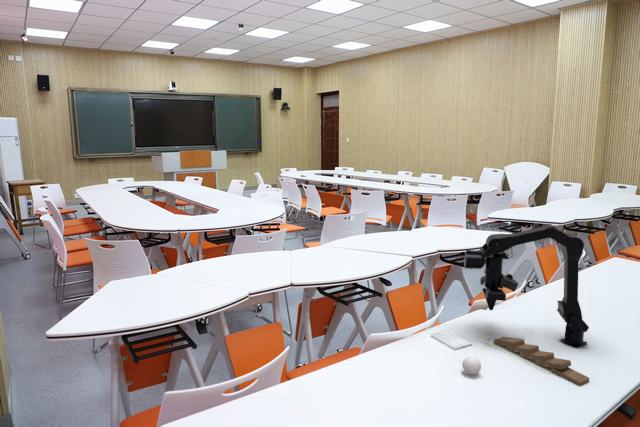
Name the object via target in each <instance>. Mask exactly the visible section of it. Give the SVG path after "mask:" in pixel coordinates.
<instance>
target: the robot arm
mask: <svg viewBox="0 0 640 427" xmlns="http://www.w3.org/2000/svg"><path fill="white" fill-rule="evenodd" d="M546 239H551V240H553V241H555V242H557V243H559V244H560V249H561V254H562V256H563V260H564V264H563V267H564V268H563V271H564V272H563V297H562V299H561V300H557V308H556V311H557V313H558V314H559V315H560V317H561V318H562V320H563V321H564V322H565V323H566V325H565V331H564V336H563V338H560V340H559V341H560V342H562V343H565V344H567V345H569V346H571V347H573V348H580V347H582V346H586V345H588V342H586V341H585V340H584V335H585V333H587V332H588V330H589V328H590V327H589V325H588V324H587V323H586V321H584V320H583V314H582V309H581V306H580V302H579V266H580V265H579V263H580V260H581V258H582V256H583V253H584V248H585V244H584V241H583V239H581V238H580V237H578V236H576V234H573V233H565V232H564V231H561V230H559V229H558V228H556V227H554V226H553V225H551V224H545V225H543V226H540V227H535V228H530V229H526V230H523V231H518V232H513V233H496V234H495V233H494V234H491V235H490V234H489V235H488V237H487V238H486V239H485V243H484V244H483V245H482V246H481V247H480V248H479V250H475V249H474V250H473V249H466V250H465V253H464V257H463V265H464V269H471V270H474V269H475V270H481V269H482V268H485V269H484V270H483V272H484V273H483V274H484V275H483V276H481V277H480V280H479V284H480V286H483V285H484V288H483V287H482V292H483V295H484V298H485V302H486V304H487V307H488V310H489V311H493V310H494V308H495V305H496V303H497V301H504V302H505V301H506V300H507V294H506V293H505V291H504V290H503V289H504V288H505V289H508V290H510V291H511V292H516V290H517V288H518V286H519V282H518V281H517V280H516V279H515V278H514V276H513V275H512V274H510V273H507V274H506V275H505V274H504V273H503V262H504V260H510V259H509V258H510V257H509V256H508V254H506V251H508V250H510V249H511V248H513V247H516V246H518V245H523V244H528V243H531V242H537V241H541V240H546Z"/></svg>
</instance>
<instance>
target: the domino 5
mask: <svg viewBox="0 0 640 427" xmlns="http://www.w3.org/2000/svg"><path fill="white" fill-rule="evenodd" d="M551 372H552V373H551V374H553V375H556V376H558V377H559V378H562V379H564V380H565V381H567V382H570V383H572V384H574V385H576V386H577V387H581V386H583V385H586V384H587V383H589V382H590V377H589V376H586V375H584V374H583V373H581V372H579V371H577V370H575V369H572V368H570V366H569V367H567V368H564V369H562V370H561V369H556V368H552V370H551Z"/></svg>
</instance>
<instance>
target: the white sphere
mask: <svg viewBox="0 0 640 427" xmlns="http://www.w3.org/2000/svg"><path fill="white" fill-rule="evenodd" d="M459 362H461V365H462V369H463V370H464V372H466V374H468V375H470V376H473V375H474V376H475V375H477V374H479V373H480V371H481V369H482V365H481V362H480V360H479V359H478V358H477V357H476V356H471V355H470V356H466V357H465V358H464V359H463V360H462V361H460V360H459Z"/></svg>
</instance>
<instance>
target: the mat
mask: <svg viewBox="0 0 640 427" xmlns="http://www.w3.org/2000/svg"><path fill="white" fill-rule="evenodd" d="M500 337H501V336H500ZM500 337H496V338H495V339H497V338H500ZM484 343H485V344H486V345H488V346H490V347H493V348H495V349H497V350H499V351H500V352H503V353H504V354H507V355H508V356H511V357H513V358H514V359H517V360H518V361H520V362H522V363H524V364H526V365H529V366H530V367H533V368H534V369H536V370H538V371H540V372H542V373H545V374H547V375H550V374H553V373H552V372H551V370H552V368H550V367H545V366H540V365H536V363H535V360H533V359H528V358H522V357H521V356H520V352H514V351H507V347H506V346H504V345H497V344H494V340H493V339H490V340H488V341H484Z"/></svg>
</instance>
